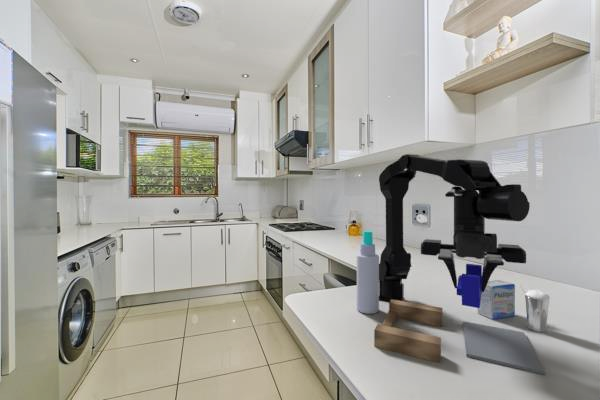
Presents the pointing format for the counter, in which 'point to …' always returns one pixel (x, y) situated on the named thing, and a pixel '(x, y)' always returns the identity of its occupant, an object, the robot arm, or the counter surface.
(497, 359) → the rubber mat
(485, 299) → the medicine box
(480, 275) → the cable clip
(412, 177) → the robot arm
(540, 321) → the milkshake
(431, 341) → the walnut holder
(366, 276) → the spray bottle
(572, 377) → the counter surface
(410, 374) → the counter surface
